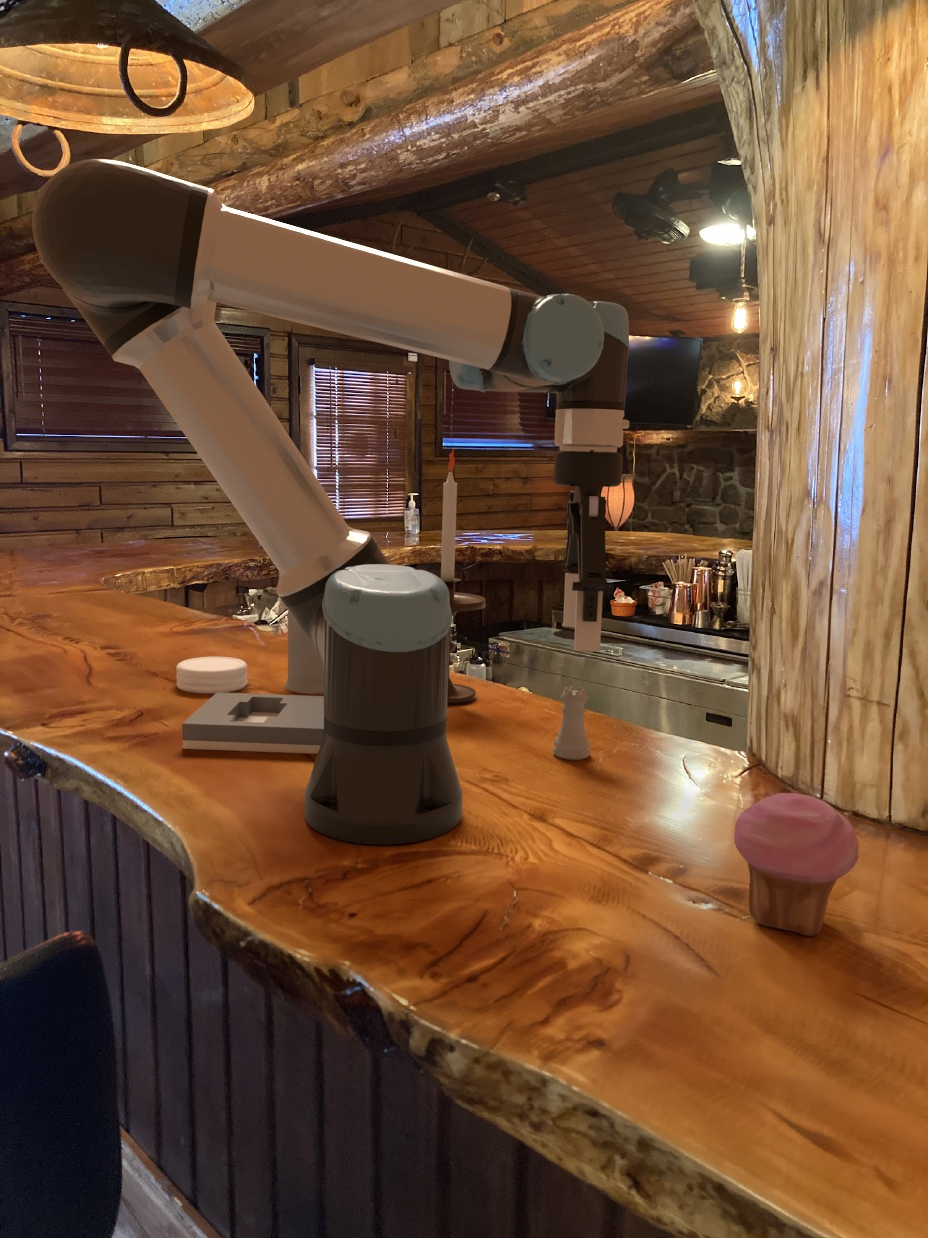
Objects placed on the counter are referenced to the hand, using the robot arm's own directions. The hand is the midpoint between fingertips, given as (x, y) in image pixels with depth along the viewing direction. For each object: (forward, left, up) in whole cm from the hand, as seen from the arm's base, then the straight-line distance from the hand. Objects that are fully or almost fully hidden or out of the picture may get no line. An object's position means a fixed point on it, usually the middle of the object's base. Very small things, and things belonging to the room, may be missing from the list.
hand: (580, 637), depth 106 cm
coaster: (+26, +50, -15) cm, 58 cm away
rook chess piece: (0, 0, -14) cm, 14 cm away
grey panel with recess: (+4, +32, -14) cm, 35 cm away
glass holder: (+30, +34, -14) cm, 48 cm away
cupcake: (-38, -13, -14) cm, 43 cm away
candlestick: (+24, +16, -14) cm, 32 cm away
